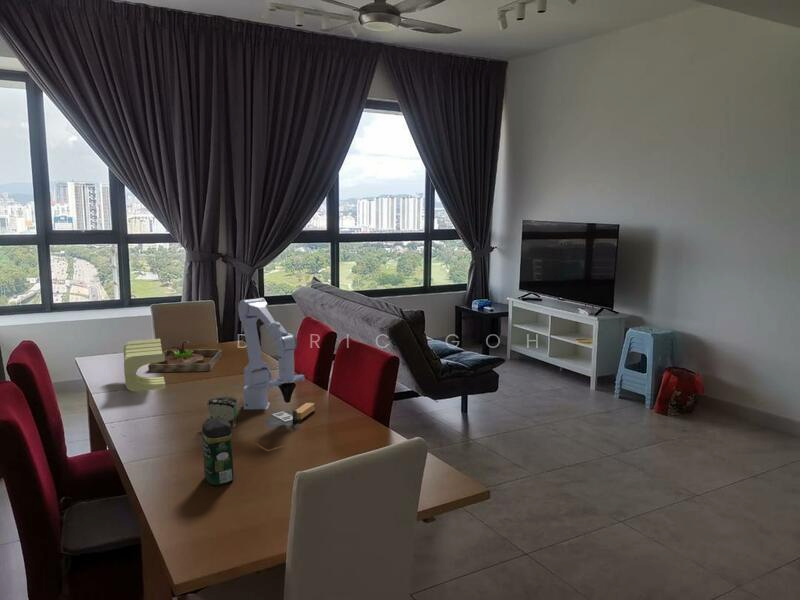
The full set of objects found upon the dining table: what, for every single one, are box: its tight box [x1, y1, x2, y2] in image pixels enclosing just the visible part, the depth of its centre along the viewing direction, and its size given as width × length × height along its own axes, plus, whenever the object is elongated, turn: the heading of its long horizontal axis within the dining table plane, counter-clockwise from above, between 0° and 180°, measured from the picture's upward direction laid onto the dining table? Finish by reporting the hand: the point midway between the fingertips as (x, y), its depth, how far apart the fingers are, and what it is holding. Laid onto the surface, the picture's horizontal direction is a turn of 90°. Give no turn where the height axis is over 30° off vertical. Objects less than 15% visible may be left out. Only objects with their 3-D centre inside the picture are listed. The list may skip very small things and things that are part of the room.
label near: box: [279, 415, 293, 422], centre depth 233 cm, size 5×5×1 cm
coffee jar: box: [201, 417, 235, 486], centre depth 184 cm, size 10×8×19 cm
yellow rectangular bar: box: [295, 401, 317, 420], centre depth 237 cm, size 12×4×2 cm, turn 162°
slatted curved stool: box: [123, 338, 166, 393], centre depth 273 cm, size 30×16×18 cm, turn 24°
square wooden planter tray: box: [147, 348, 223, 373], centre depth 311 cm, size 29×29×4 cm
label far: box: [272, 411, 289, 419], centre depth 237 cm, size 5×5×1 cm
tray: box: [266, 409, 302, 427], centre depth 234 cm, size 12×15×5 cm
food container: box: [206, 396, 240, 430], centre depth 228 cm, size 12×6×10 cm, turn 71°
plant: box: [160, 340, 205, 364], centre depth 313 cm, size 20×20×11 cm
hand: (287, 401), depth 232 cm, fingers closed
